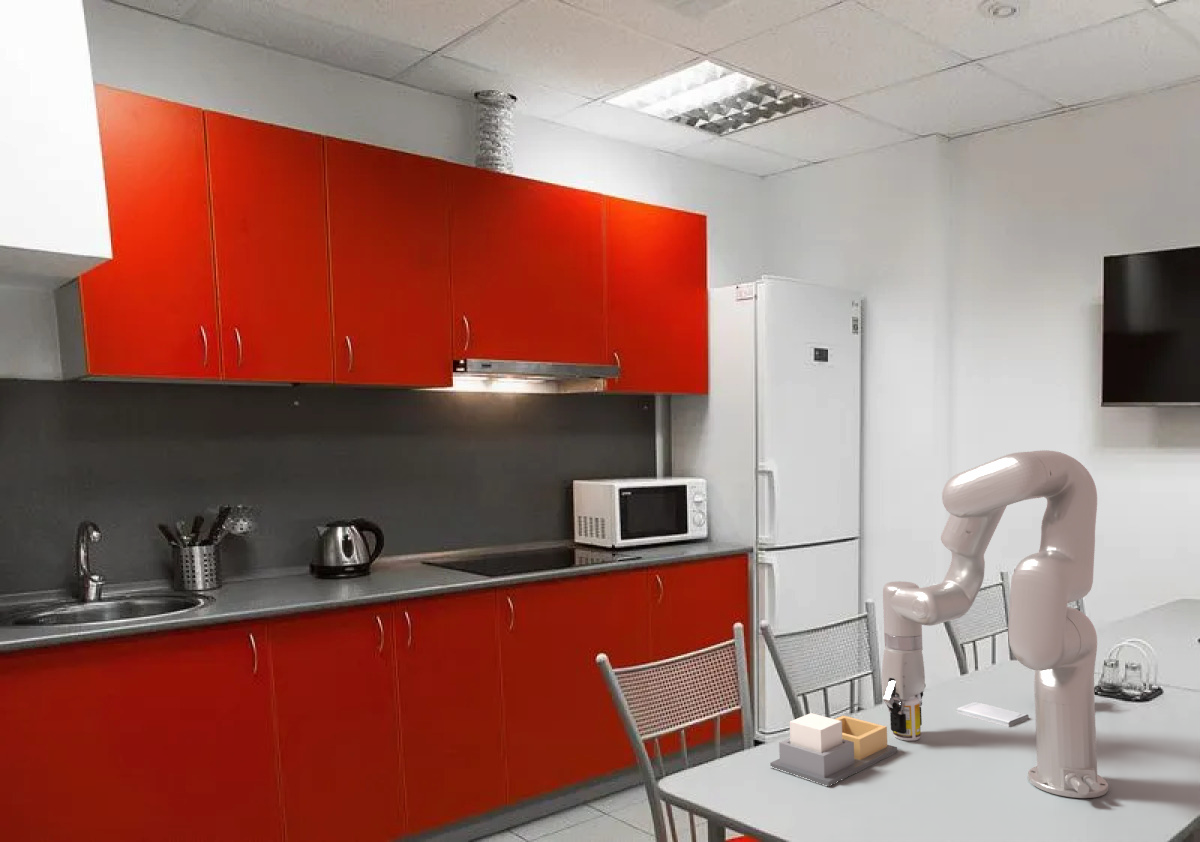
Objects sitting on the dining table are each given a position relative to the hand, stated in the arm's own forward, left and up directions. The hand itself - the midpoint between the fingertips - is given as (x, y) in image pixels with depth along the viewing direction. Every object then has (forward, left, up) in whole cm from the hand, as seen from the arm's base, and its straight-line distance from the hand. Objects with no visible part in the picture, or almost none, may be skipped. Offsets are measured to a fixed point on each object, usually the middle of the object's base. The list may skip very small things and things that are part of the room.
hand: (906, 727), depth 180 cm
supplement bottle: (0, 0, -2) cm, 2 cm away
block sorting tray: (-13, +17, -2) cm, 21 cm away
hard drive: (+14, -22, -3) cm, 26 cm away
